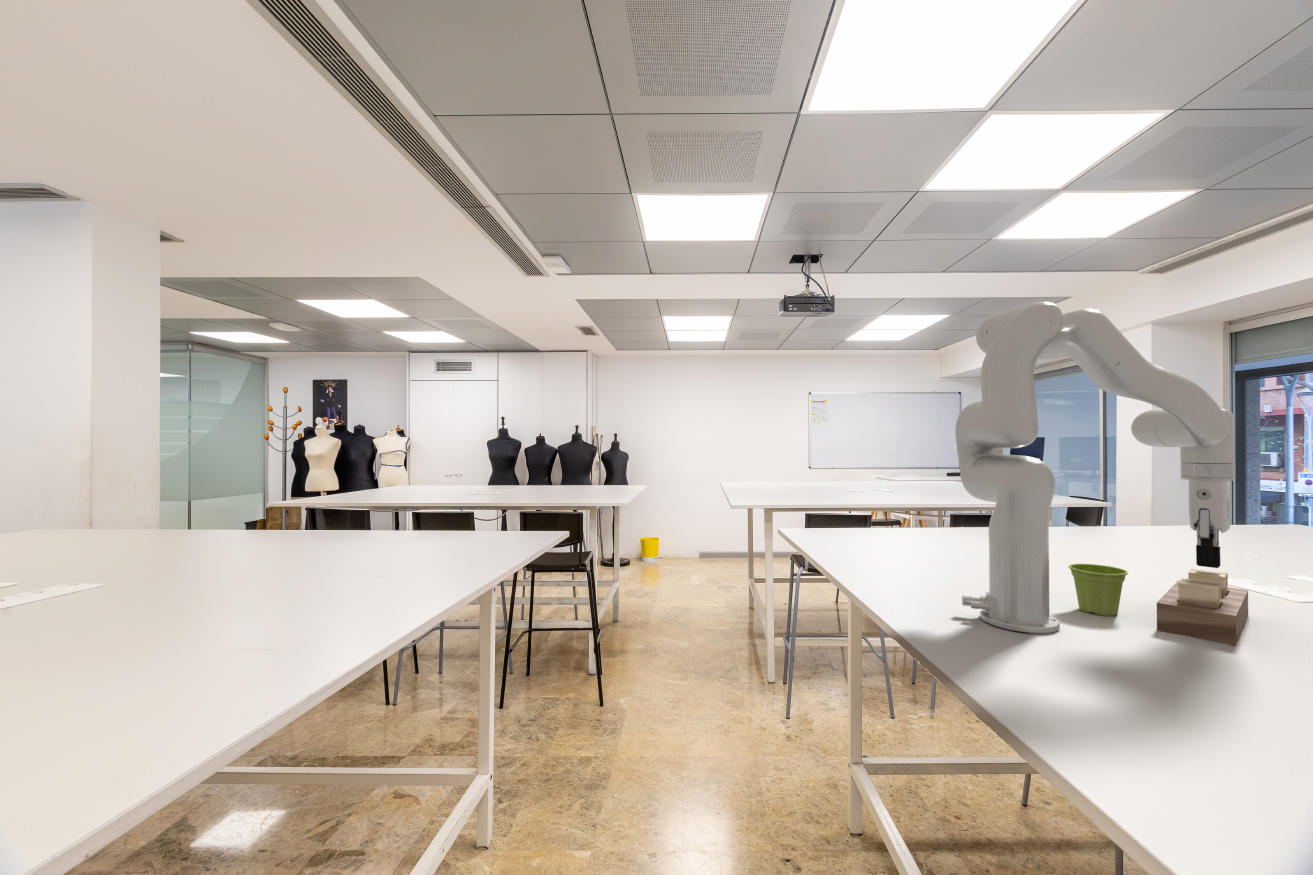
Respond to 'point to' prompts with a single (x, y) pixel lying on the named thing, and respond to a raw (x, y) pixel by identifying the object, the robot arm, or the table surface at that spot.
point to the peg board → (1204, 616)
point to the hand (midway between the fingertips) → (1208, 566)
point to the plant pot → (1098, 587)
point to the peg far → (1211, 578)
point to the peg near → (1200, 593)
